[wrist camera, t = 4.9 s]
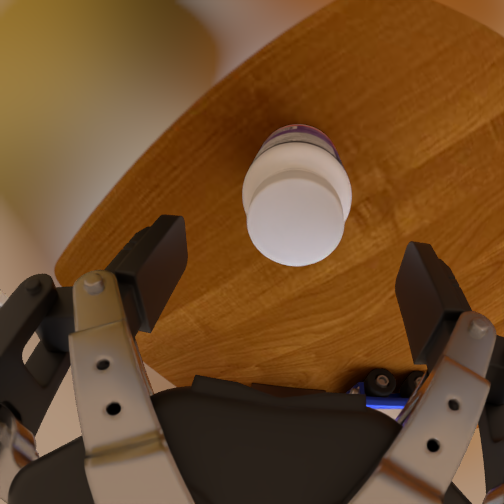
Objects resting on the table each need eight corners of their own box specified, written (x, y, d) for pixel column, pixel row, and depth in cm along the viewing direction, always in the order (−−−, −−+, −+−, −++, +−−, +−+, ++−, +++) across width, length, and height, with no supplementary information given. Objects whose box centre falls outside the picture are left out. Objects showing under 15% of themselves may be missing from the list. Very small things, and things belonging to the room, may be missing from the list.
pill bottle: (325, 205, 22) (335, 292, 14) (253, 186, 22) (220, 263, 14) (347, 134, 19) (380, 183, 11) (268, 114, 19) (241, 145, 11)
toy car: (353, 364, 31) (356, 442, 23) (441, 371, 30) (456, 438, 22) (328, 404, 36) (325, 469, 28) (407, 409, 35) (413, 468, 27)
